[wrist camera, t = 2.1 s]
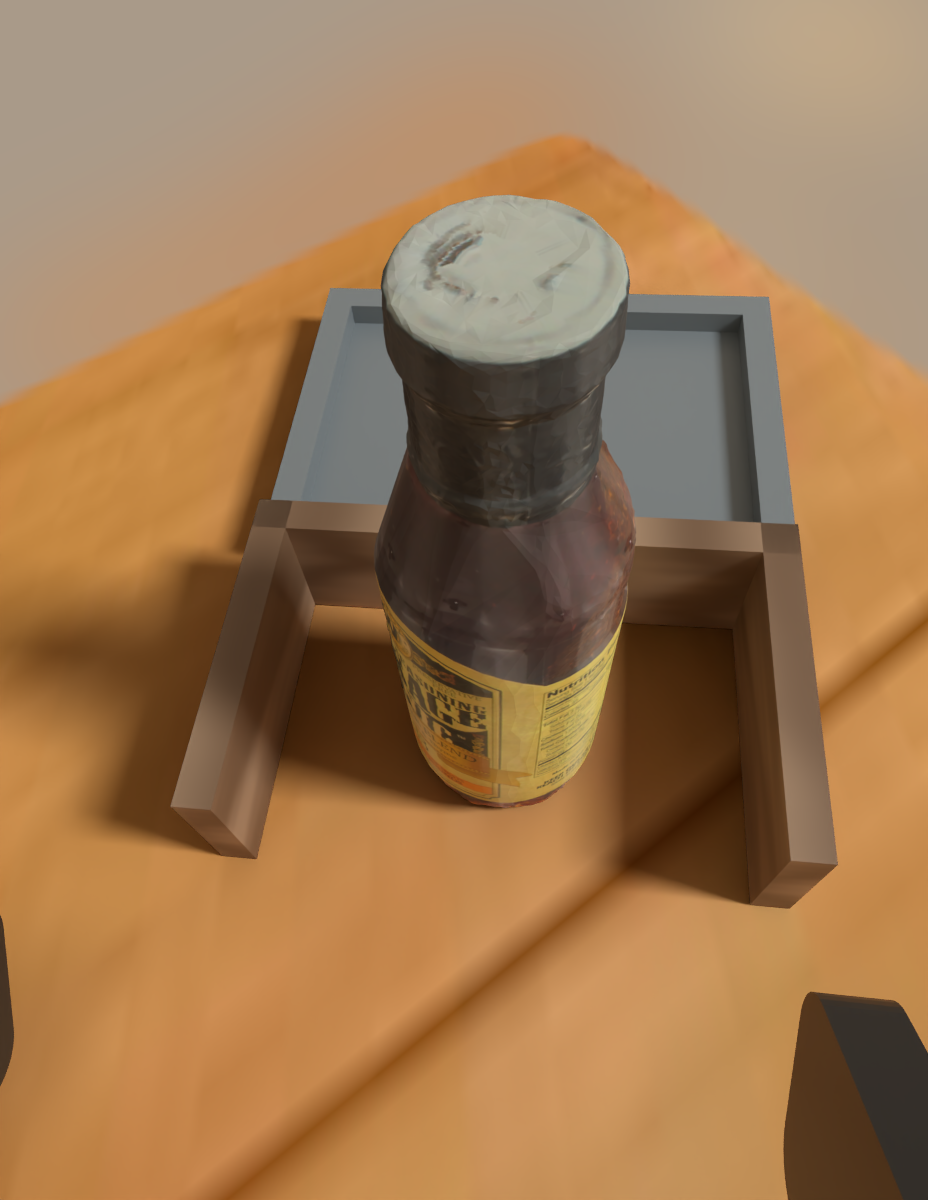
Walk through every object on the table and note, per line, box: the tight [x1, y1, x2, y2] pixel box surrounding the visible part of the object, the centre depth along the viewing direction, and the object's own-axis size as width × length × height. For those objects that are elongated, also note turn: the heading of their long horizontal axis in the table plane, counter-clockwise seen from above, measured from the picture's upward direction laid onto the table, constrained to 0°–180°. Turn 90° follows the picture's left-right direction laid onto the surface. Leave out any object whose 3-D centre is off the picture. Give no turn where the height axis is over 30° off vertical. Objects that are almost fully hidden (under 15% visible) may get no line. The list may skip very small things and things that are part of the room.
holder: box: [170, 499, 838, 908], centre depth 29 cm, size 18×11×5 cm, turn 84°
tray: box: [271, 288, 795, 524], centre depth 37 cm, size 20×14×2 cm
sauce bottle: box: [374, 195, 636, 808], centre depth 22 cm, size 7×6×20 cm
